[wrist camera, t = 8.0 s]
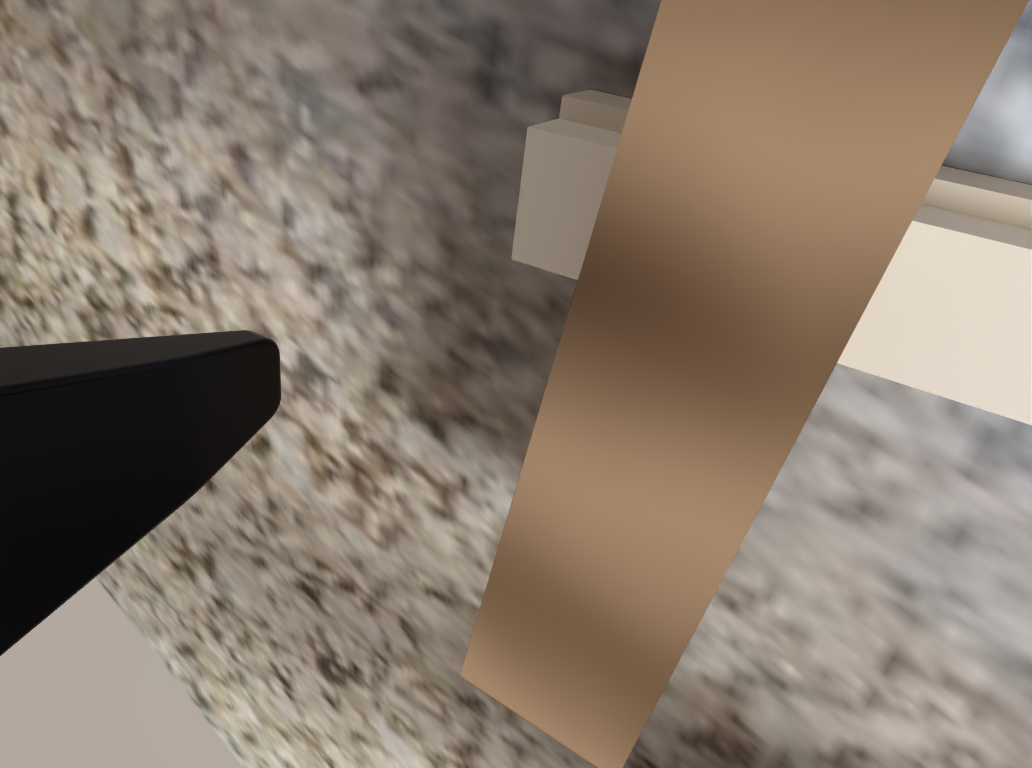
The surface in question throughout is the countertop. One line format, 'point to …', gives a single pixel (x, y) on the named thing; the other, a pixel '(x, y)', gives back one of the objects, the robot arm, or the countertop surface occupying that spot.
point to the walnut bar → (710, 328)
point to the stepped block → (899, 295)
